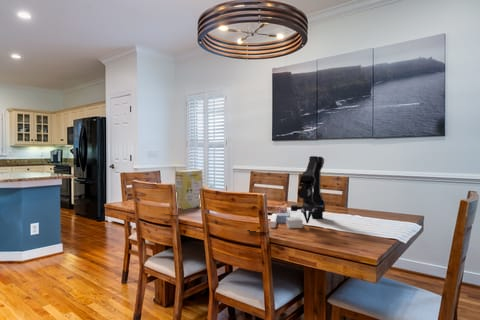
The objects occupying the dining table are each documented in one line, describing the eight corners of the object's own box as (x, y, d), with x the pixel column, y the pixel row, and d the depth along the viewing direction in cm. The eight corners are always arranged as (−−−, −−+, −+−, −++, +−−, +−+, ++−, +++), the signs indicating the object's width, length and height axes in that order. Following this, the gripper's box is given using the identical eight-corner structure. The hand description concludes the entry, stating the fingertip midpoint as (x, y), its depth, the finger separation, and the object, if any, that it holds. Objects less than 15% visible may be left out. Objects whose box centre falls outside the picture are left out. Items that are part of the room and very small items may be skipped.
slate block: (290, 220, 197) (290, 213, 197) (289, 223, 190) (289, 216, 189) (277, 220, 199) (277, 212, 199) (276, 222, 191) (276, 215, 191)
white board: (277, 219, 200) (277, 213, 200) (275, 227, 178) (275, 221, 178) (272, 218, 201) (272, 213, 200) (270, 227, 179) (270, 221, 179)
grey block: (299, 224, 186) (299, 217, 186) (302, 228, 178) (302, 220, 178) (286, 224, 186) (286, 217, 186) (288, 228, 178) (288, 220, 178)
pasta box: (194, 204, 254) (193, 169, 253) (202, 206, 247) (202, 170, 246) (175, 207, 240) (175, 171, 239) (184, 209, 233) (183, 171, 232)
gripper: (290, 197, 174) (290, 225, 174) (325, 198, 171) (325, 227, 171) (291, 194, 185) (290, 221, 185) (323, 195, 182) (323, 222, 182)
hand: (307, 223), depth 181 cm, fingers closed
